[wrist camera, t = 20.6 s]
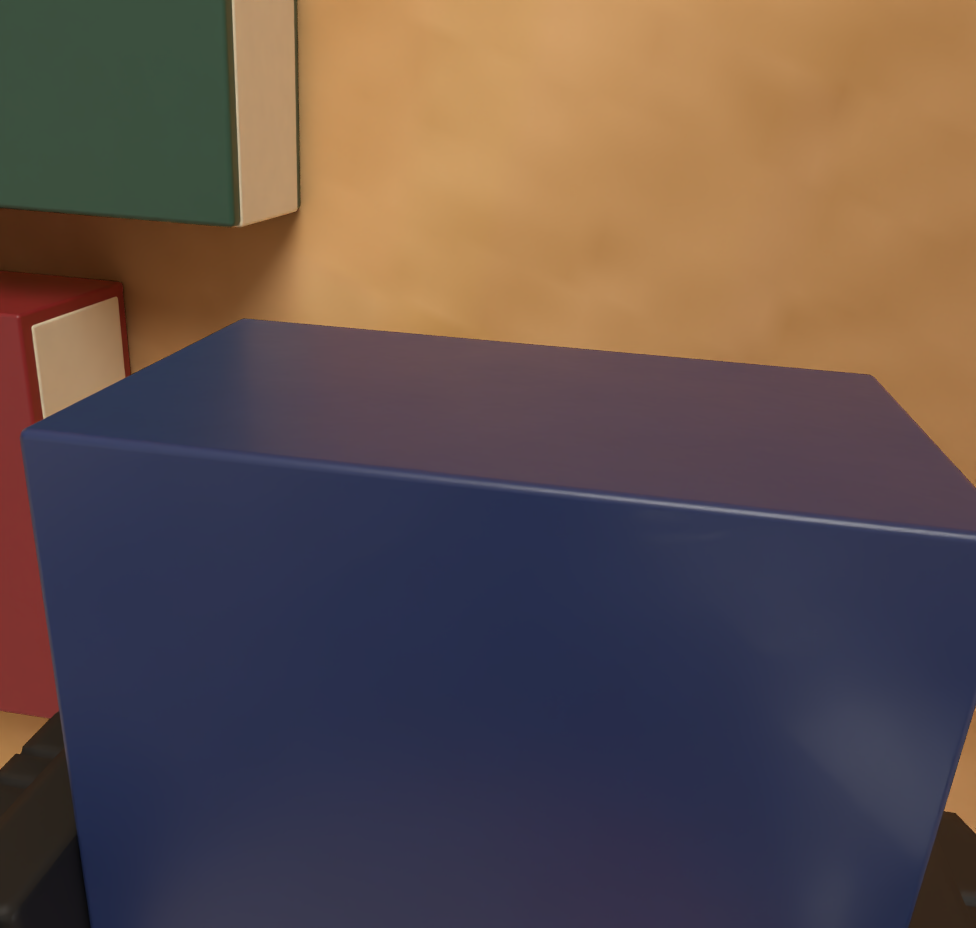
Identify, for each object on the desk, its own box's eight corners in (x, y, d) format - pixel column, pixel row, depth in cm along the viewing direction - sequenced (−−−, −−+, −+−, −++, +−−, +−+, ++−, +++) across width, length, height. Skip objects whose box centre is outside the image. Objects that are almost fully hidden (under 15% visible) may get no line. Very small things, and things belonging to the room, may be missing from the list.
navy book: (238, 316, 9) (9, 428, 6) (879, 373, 8) (1036, 540, 5) (268, 961, 12) (134, 1268, 9) (731, 1045, 12) (768, 1415, 8)
